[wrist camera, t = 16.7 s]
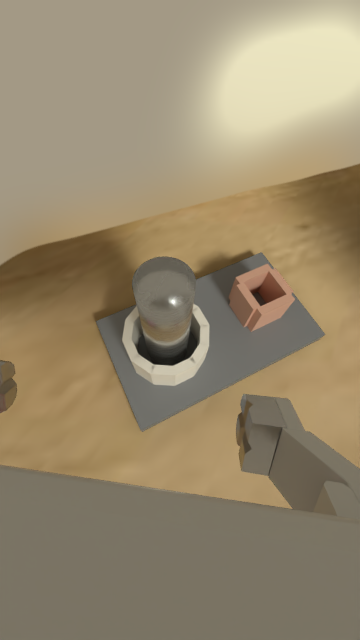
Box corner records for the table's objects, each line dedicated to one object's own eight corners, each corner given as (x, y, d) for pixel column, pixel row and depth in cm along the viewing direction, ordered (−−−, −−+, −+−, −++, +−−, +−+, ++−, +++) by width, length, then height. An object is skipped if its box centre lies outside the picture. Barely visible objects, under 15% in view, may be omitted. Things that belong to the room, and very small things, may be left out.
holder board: (258, 259, 35) (272, 228, 30) (318, 339, 31) (346, 317, 26) (99, 327, 31) (84, 302, 26) (142, 431, 26) (135, 426, 21)
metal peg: (176, 324, 30) (178, 248, 19) (193, 356, 28) (207, 294, 17) (141, 339, 29) (122, 269, 18) (157, 374, 27) (147, 320, 16)
